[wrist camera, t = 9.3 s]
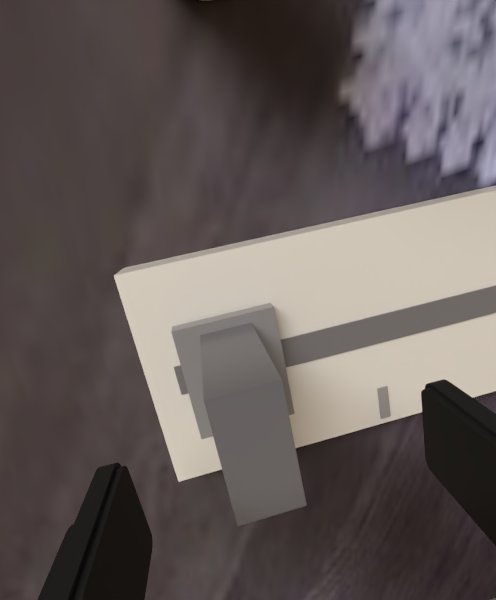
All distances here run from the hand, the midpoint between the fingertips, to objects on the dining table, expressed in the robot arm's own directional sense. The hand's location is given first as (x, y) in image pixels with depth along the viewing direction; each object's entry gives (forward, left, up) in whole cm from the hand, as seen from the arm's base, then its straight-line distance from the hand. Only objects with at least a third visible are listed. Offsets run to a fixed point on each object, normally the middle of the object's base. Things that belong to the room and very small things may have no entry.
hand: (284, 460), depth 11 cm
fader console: (-7, 0, -10) cm, 13 cm away
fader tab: (+1, 0, -8) cm, 8 cm away
